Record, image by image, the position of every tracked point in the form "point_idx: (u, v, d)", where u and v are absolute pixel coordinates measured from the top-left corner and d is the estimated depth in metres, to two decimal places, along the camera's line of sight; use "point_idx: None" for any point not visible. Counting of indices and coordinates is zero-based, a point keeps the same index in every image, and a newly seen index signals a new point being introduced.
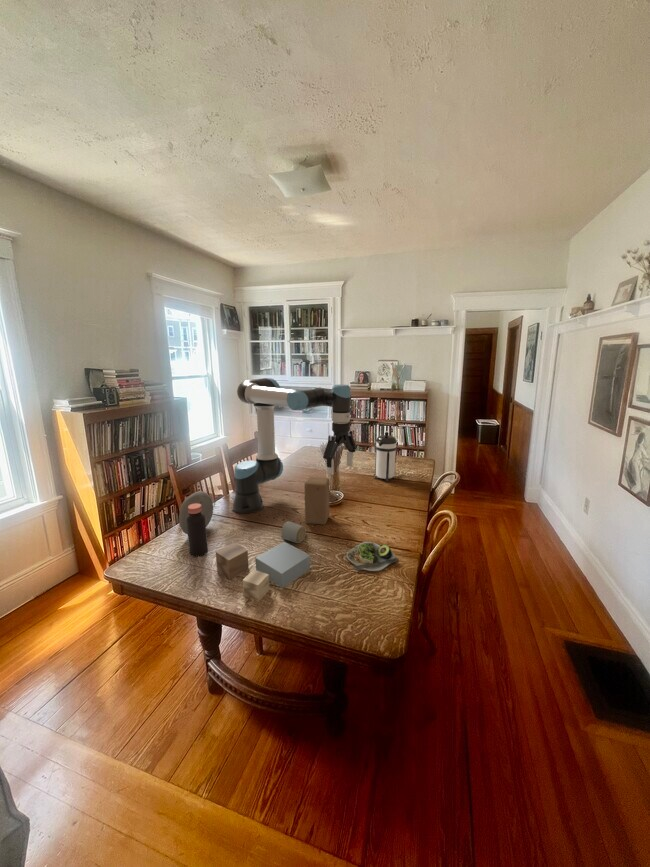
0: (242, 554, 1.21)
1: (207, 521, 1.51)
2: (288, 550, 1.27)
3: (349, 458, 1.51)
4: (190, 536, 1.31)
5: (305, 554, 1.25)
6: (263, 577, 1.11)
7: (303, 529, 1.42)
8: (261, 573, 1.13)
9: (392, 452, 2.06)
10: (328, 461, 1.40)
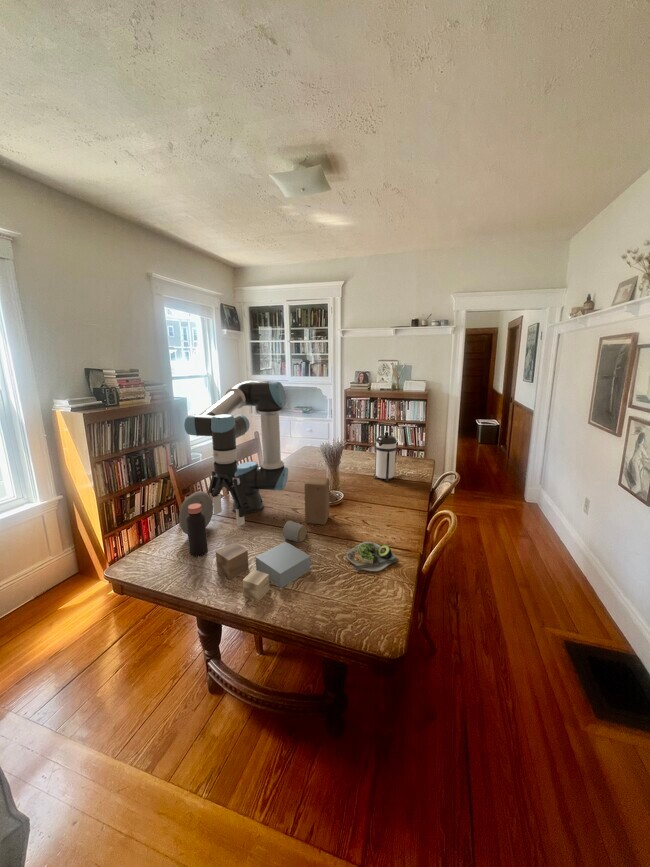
0: (242, 554, 1.21)
1: (207, 521, 1.51)
2: (289, 551, 1.27)
3: None
4: (190, 536, 1.31)
5: (305, 555, 1.24)
6: (263, 577, 1.11)
7: (304, 528, 1.43)
8: (261, 573, 1.13)
9: (392, 452, 2.06)
10: None
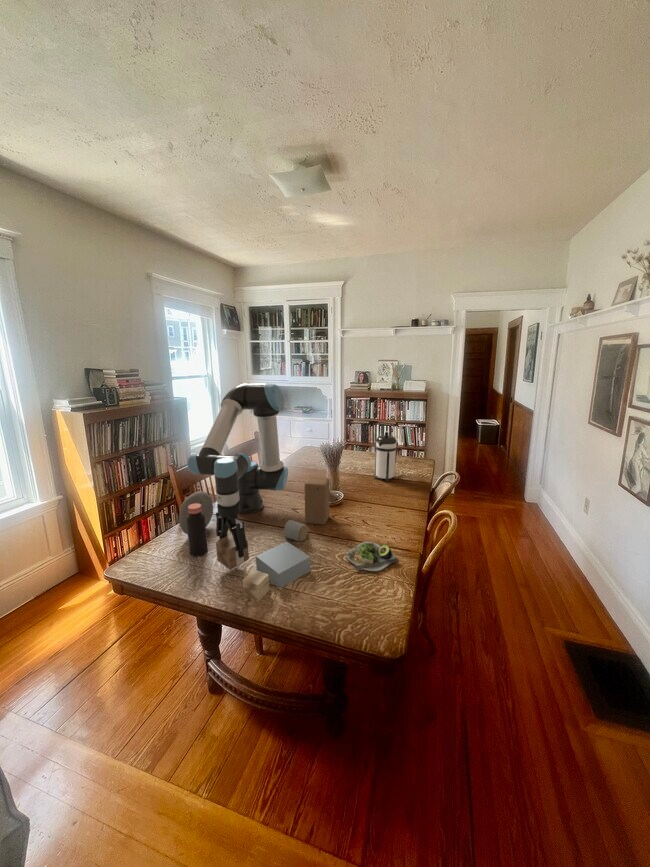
0: None
1: (207, 521, 1.51)
2: (289, 551, 1.27)
3: None
4: (190, 536, 1.31)
5: (305, 555, 1.24)
6: (263, 577, 1.11)
7: (305, 527, 1.44)
8: (261, 573, 1.13)
9: (392, 452, 2.06)
10: None
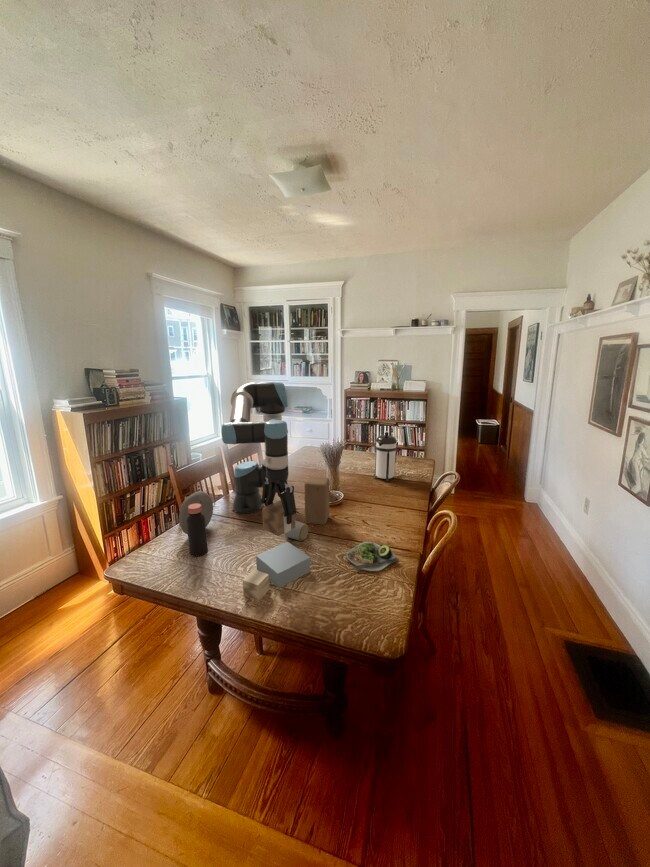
0: None
1: (207, 521, 1.51)
2: (290, 551, 1.26)
3: None
4: (190, 536, 1.31)
5: (305, 556, 1.24)
6: (263, 577, 1.11)
7: (306, 527, 1.44)
8: (261, 573, 1.13)
9: (392, 452, 2.06)
10: None
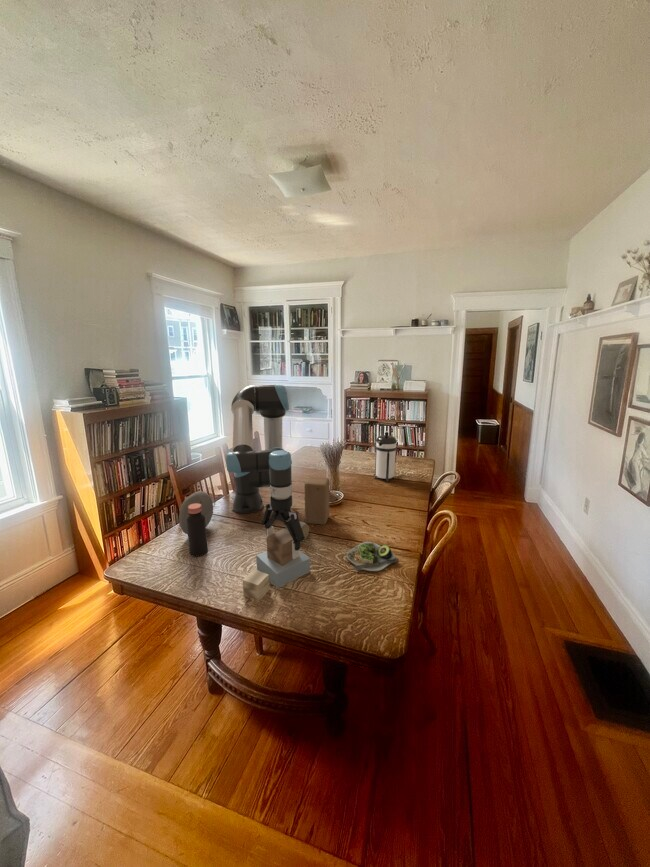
0: None
1: (207, 521, 1.51)
2: None
3: None
4: (190, 536, 1.31)
5: (305, 556, 1.23)
6: (263, 577, 1.11)
7: (306, 526, 1.44)
8: (261, 573, 1.13)
9: (392, 452, 2.06)
10: None
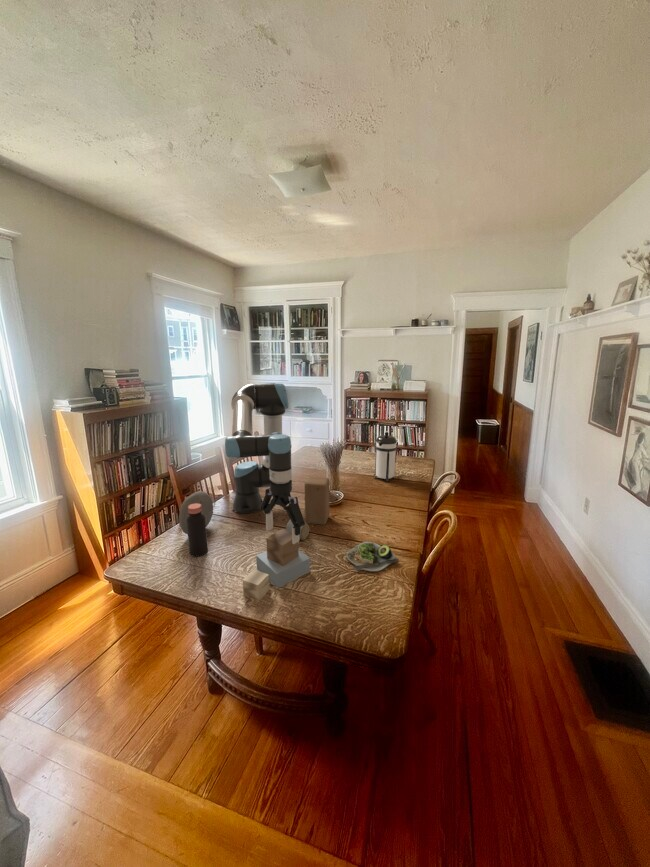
0: None
1: (207, 521, 1.51)
2: None
3: None
4: (190, 536, 1.31)
5: (305, 556, 1.23)
6: (263, 577, 1.11)
7: (307, 526, 1.45)
8: (261, 573, 1.13)
9: (392, 452, 2.06)
10: None
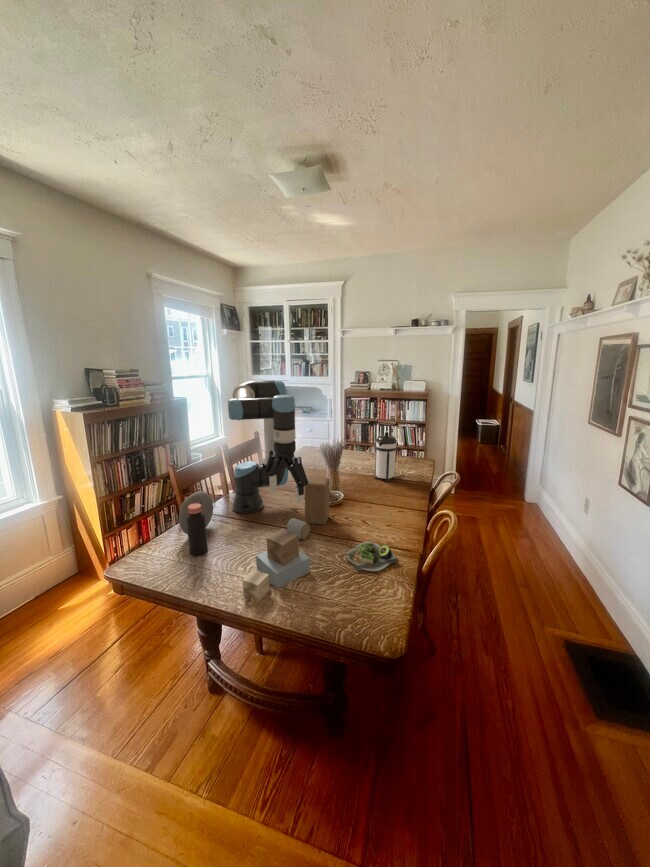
0: (293, 539, 1.21)
1: (207, 521, 1.51)
2: None
3: None
4: (190, 536, 1.31)
5: (305, 556, 1.23)
6: (263, 577, 1.11)
7: (307, 526, 1.45)
8: (261, 573, 1.13)
9: (392, 452, 2.06)
10: None
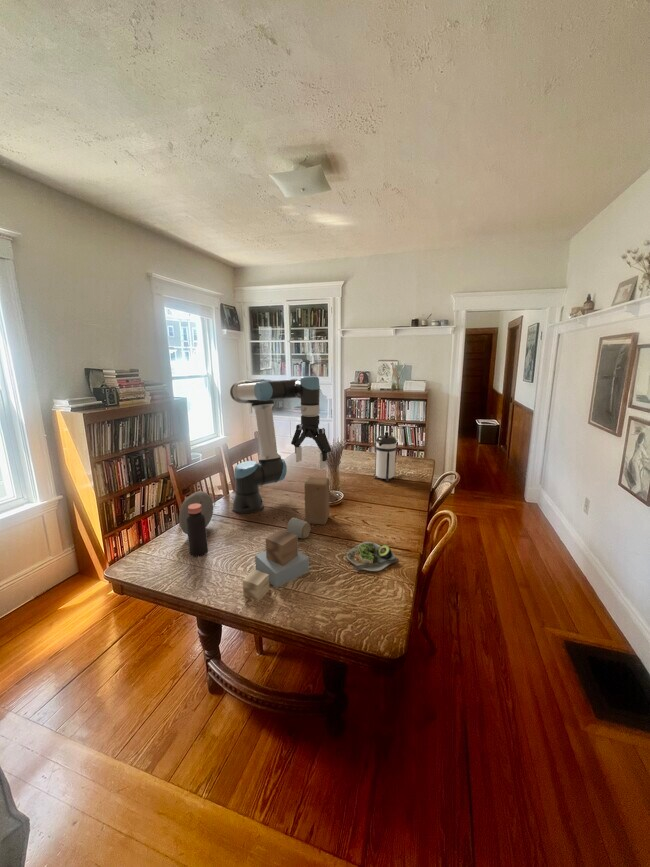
0: (293, 539, 1.21)
1: (207, 521, 1.51)
2: None
3: None
4: (190, 536, 1.31)
5: (304, 556, 1.23)
6: (263, 577, 1.11)
7: (308, 525, 1.46)
8: (261, 573, 1.13)
9: (392, 452, 2.06)
10: None
